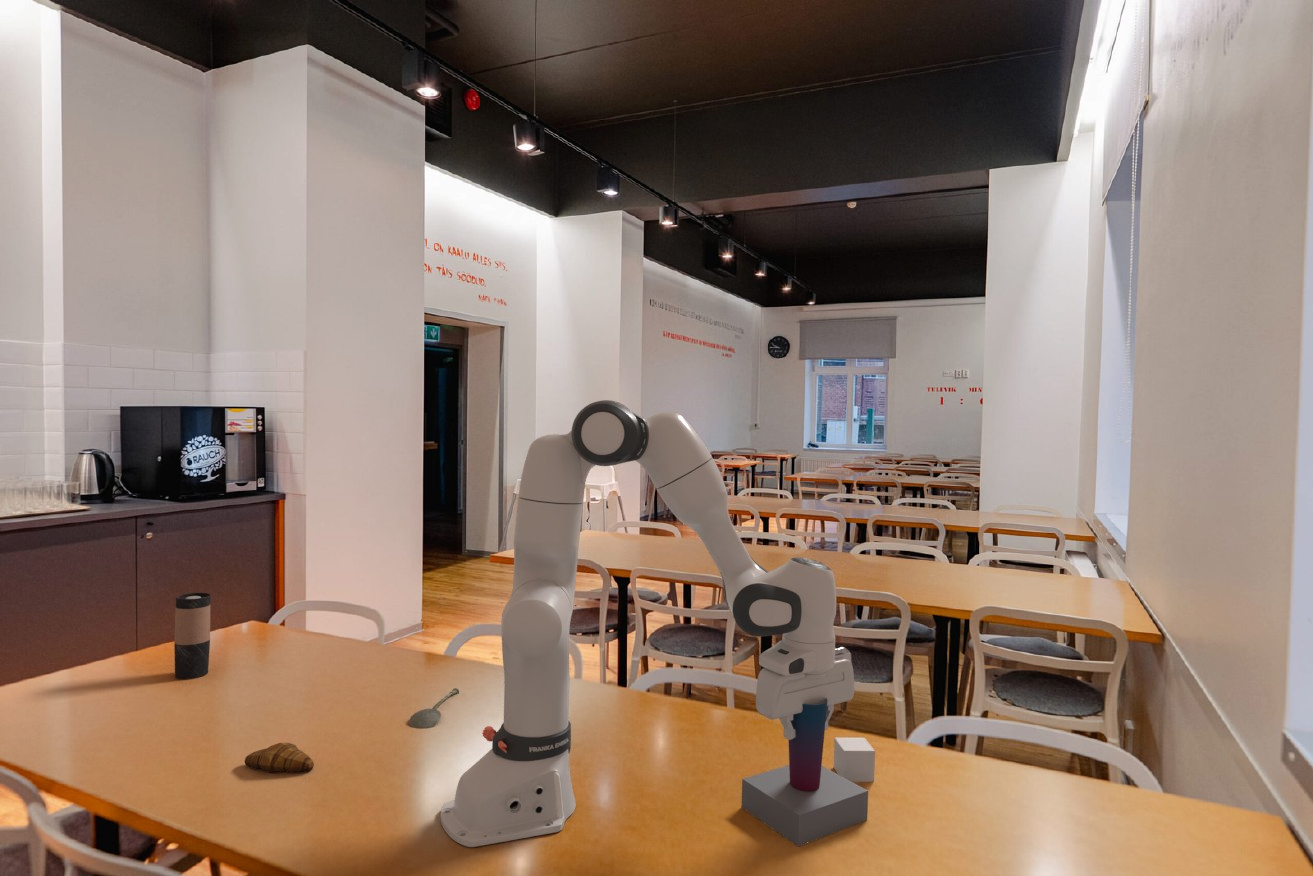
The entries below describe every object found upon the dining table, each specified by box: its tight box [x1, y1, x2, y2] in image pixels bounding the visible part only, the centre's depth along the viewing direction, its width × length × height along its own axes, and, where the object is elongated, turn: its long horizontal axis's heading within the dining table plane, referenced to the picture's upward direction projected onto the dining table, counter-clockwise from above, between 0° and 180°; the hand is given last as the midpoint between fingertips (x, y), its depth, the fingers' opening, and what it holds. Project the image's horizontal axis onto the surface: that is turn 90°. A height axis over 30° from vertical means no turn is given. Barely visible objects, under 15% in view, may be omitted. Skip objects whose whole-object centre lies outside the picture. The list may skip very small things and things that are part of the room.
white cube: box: [833, 737, 876, 783], centre depth 142 cm, size 6×6×6 cm
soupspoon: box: [408, 687, 460, 730], centre depth 169 cm, size 22×3×7 cm
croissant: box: [244, 742, 315, 774], centre depth 138 cm, size 14×7×5 cm, turn 82°
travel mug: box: [173, 592, 211, 680], centre depth 187 cm, size 8×8×20 cm
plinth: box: [740, 764, 869, 847], centre depth 127 cm, size 16×14×5 cm
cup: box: [788, 698, 827, 791], centre depth 127 cm, size 7×7×15 cm
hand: (806, 733), depth 127 cm, fingers closed on cup, 6 cm apart
